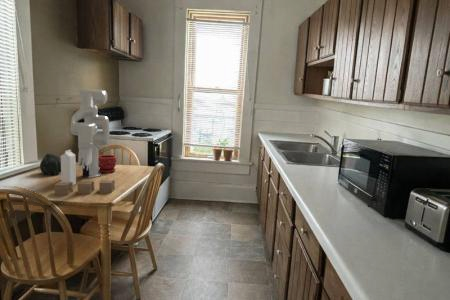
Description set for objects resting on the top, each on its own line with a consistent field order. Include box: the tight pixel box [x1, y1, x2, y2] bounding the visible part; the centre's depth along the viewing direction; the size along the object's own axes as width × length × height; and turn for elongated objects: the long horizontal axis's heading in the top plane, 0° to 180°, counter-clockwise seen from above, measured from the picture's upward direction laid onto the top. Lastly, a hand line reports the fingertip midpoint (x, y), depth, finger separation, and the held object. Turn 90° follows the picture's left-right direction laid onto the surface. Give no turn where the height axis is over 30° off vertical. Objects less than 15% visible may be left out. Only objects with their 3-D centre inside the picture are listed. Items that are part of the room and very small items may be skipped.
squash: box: [39, 153, 61, 176], centre depth 212 cm, size 14×15×15 cm
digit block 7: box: [98, 179, 116, 193], centre depth 183 cm, size 7×7×6 cm
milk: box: [60, 149, 77, 186], centre depth 188 cm, size 6×6×22 cm
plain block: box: [77, 179, 95, 195], centre depth 178 cm, size 7×7×6 cm
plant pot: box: [99, 154, 117, 174], centre depth 227 cm, size 13×13×12 cm
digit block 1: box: [54, 181, 74, 196], centre depth 173 cm, size 7×7×6 cm
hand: (86, 176), depth 177 cm, fingers closed
